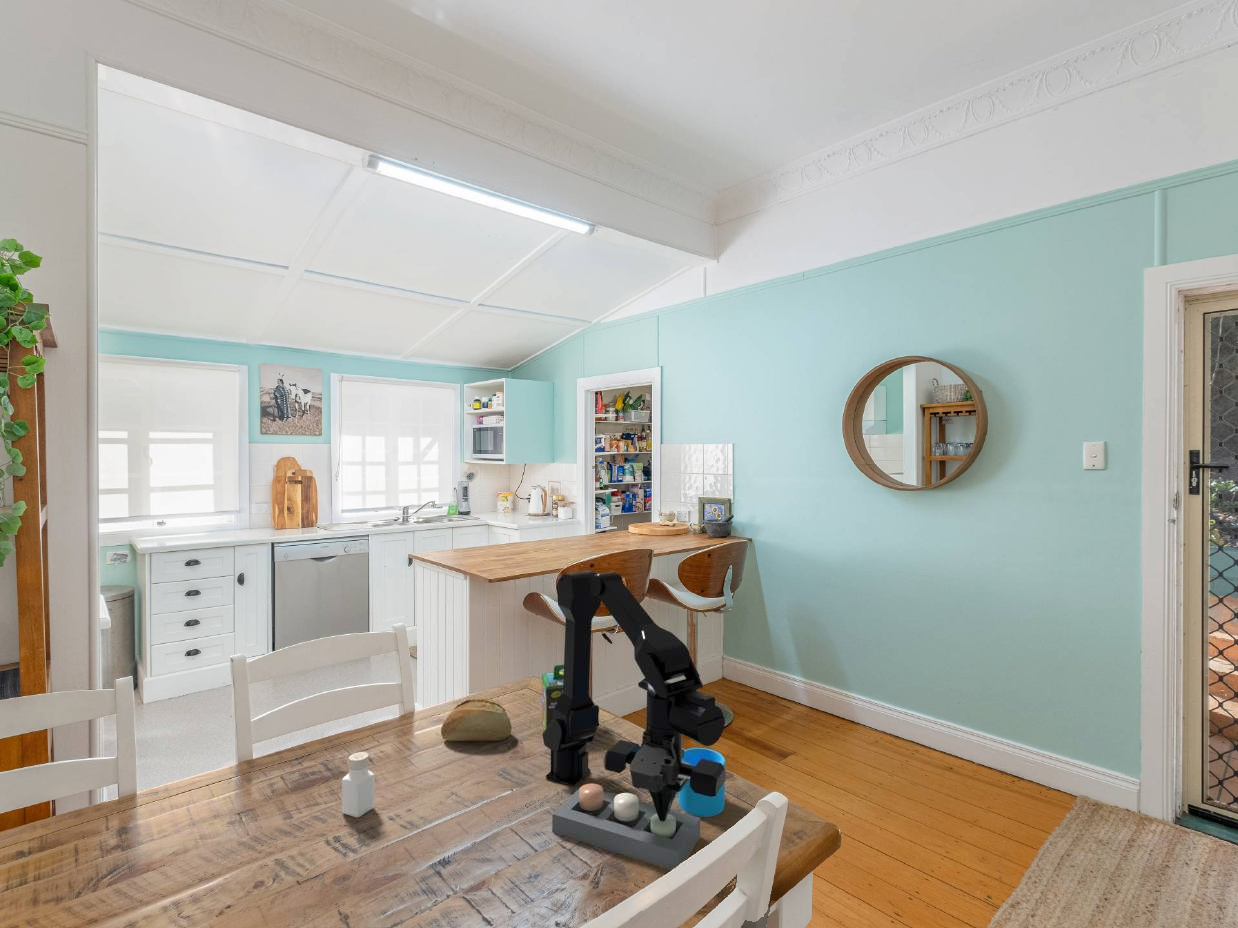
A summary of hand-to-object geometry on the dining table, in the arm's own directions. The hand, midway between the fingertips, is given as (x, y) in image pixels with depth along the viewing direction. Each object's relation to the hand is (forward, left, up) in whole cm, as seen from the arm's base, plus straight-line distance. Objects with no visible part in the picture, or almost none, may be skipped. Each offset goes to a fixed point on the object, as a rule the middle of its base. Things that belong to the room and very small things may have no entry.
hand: (662, 819), depth 99 cm
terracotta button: (-13, 0, -1) cm, 13 cm away
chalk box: (-36, +30, -4) cm, 47 cm away
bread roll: (-50, +17, -4) cm, 53 cm away
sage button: (0, 0, -2) cm, 2 cm away
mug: (+1, +16, -4) cm, 17 cm away
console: (-6, 0, -4) cm, 8 cm away
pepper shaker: (-50, -15, -4) cm, 53 cm away
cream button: (-6, 0, -1) cm, 6 cm away
